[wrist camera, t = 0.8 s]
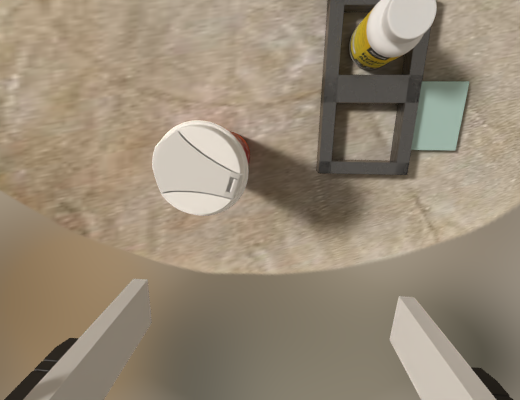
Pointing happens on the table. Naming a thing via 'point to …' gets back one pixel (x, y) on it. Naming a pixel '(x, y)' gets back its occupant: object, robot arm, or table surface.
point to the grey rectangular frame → (367, 96)
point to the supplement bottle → (390, 31)
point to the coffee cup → (201, 167)
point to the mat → (439, 115)
